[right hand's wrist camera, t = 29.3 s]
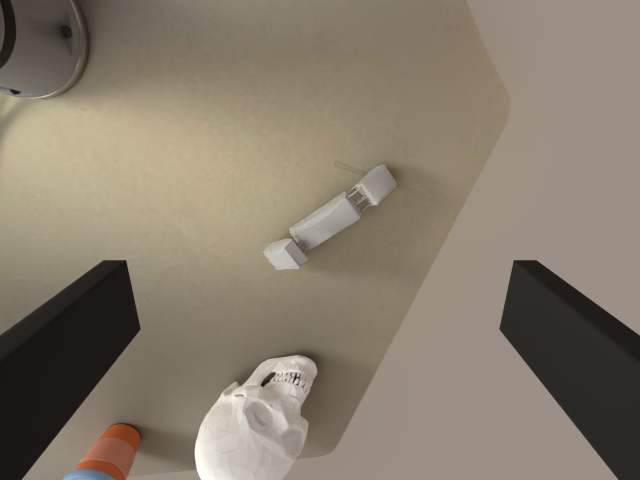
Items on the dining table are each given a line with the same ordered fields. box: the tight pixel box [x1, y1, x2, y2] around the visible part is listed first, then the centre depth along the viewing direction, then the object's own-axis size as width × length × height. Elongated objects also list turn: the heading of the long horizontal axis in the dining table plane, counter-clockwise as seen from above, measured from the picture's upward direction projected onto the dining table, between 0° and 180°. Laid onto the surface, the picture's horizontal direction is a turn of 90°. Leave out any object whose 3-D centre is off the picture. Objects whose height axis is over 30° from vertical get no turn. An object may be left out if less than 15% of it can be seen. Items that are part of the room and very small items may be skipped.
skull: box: [195, 355, 318, 480], centre depth 54 cm, size 13×22×16 cm, turn 138°
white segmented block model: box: [264, 165, 398, 270], centre depth 47 cm, size 20×4×7 cm, turn 127°
